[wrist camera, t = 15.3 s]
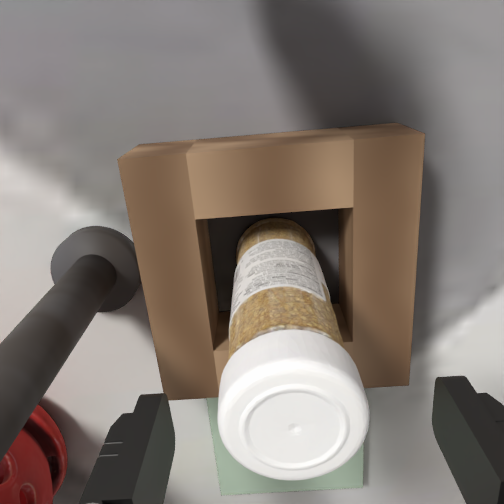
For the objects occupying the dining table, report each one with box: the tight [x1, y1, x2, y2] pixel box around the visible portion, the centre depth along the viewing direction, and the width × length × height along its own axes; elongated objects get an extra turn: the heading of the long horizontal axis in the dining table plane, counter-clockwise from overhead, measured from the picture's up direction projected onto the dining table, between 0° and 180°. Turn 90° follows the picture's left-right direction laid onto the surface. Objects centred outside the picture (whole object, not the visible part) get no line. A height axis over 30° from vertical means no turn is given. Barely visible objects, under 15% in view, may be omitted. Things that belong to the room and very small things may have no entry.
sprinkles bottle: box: [217, 218, 370, 480], centre depth 19 cm, size 5×5×13 cm
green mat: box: [206, 388, 365, 495], centre depth 30 cm, size 10×10×1 cm
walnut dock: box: [0, 123, 425, 462], centre depth 18 cm, size 19×13×16 cm
